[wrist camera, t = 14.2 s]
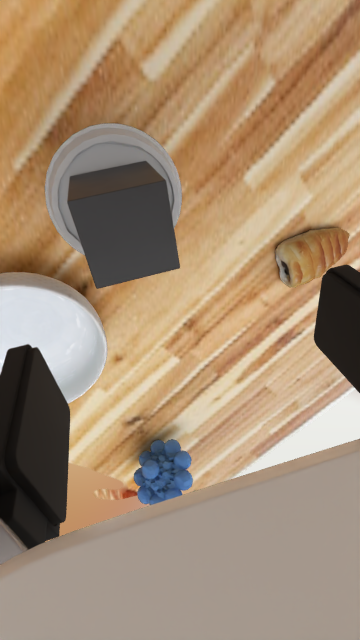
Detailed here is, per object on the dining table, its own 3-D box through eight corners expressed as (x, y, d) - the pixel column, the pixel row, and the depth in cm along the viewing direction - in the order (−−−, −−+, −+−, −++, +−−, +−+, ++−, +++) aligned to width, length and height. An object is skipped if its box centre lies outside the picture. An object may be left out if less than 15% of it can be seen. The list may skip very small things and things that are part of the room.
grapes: (161, 413, 54) (179, 482, 44) (188, 427, 58) (210, 493, 48) (114, 453, 56) (121, 527, 47) (142, 464, 60) (154, 534, 51)
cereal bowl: (23, 393, 44) (15, 437, 39) (-94, 309, 35) (-128, 352, 29) (129, 329, 43) (137, 365, 37) (38, 223, 33) (30, 249, 27)
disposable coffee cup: (37, 126, 29) (16, 142, 19) (143, 104, 30) (174, 110, 20) (74, 230, 34) (73, 283, 25) (163, 209, 35) (194, 252, 26)
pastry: (338, 210, 41) (359, 220, 38) (342, 255, 45) (361, 267, 42) (269, 245, 41) (285, 257, 38) (280, 286, 45) (294, 300, 42)
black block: (146, 160, 21) (166, 179, 16) (160, 233, 24) (180, 268, 19) (69, 176, 21) (66, 201, 16) (92, 249, 24) (96, 289, 19)
